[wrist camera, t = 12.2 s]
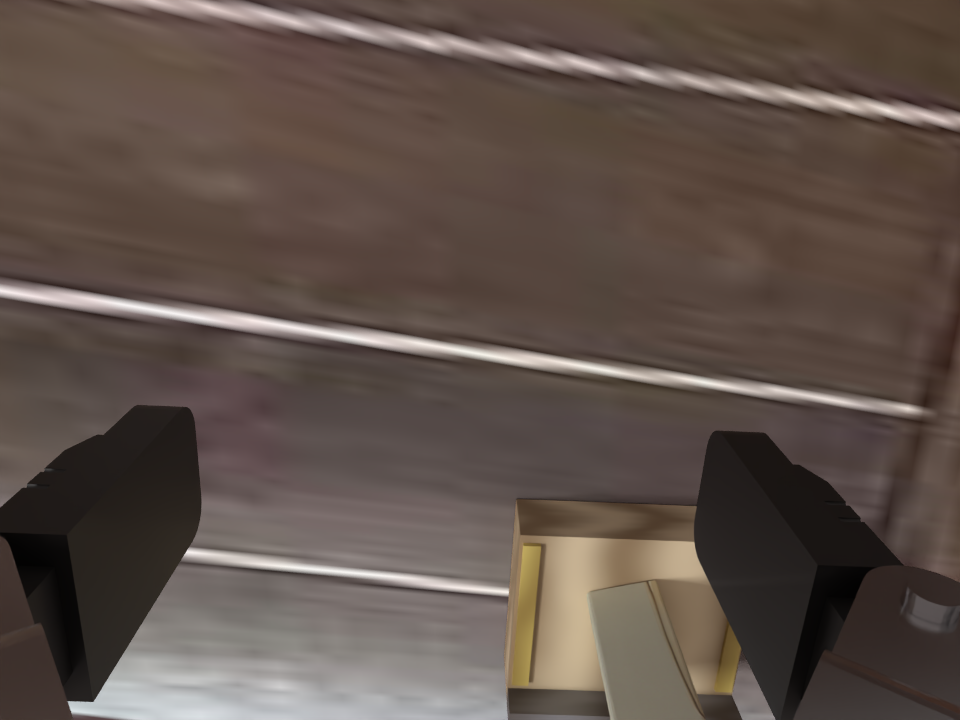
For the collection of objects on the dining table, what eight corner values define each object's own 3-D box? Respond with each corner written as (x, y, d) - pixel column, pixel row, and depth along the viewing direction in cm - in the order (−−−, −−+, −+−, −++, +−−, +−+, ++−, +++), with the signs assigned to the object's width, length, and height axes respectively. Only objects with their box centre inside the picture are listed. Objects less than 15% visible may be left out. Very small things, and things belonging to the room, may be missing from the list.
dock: (739, 507, 47) (777, 565, 41) (709, 661, 51) (739, 733, 45) (516, 498, 46) (522, 555, 41) (504, 655, 50) (508, 726, 45)
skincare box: (670, 659, 46) (737, 849, 34) (598, 672, 46) (640, 866, 34) (655, 574, 43) (721, 747, 32) (580, 589, 44) (619, 765, 32)
